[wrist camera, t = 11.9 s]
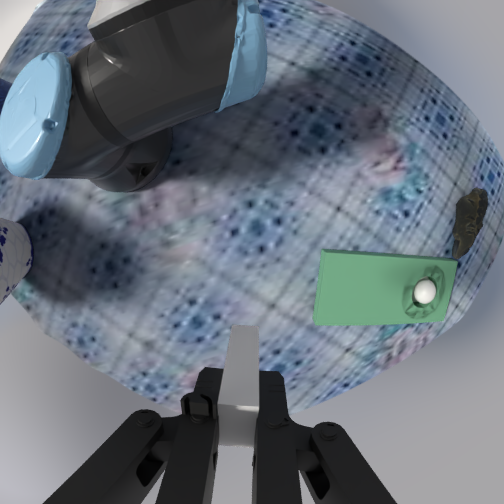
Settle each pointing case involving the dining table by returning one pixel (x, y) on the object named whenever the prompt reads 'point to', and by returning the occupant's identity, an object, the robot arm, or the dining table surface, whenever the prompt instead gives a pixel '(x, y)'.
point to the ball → (425, 291)
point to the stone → (468, 221)
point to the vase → (13, 255)
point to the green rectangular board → (379, 288)
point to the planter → (3, 92)
